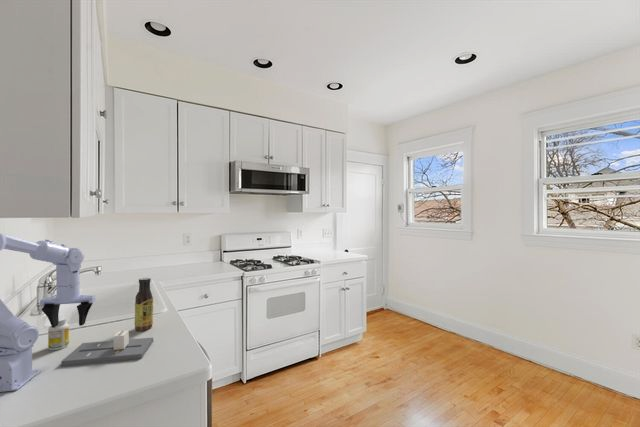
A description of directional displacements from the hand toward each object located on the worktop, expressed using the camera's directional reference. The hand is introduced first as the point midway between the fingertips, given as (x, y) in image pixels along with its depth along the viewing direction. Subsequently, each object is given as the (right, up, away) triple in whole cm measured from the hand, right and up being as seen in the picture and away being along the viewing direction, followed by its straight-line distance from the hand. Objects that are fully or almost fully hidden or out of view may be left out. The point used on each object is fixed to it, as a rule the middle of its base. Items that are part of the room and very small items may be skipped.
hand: (68, 325), depth 98 cm
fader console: (+13, -10, +1) cm, 16 cm away
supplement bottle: (-7, -9, +5) cm, 13 cm away
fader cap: (+16, -8, +2) cm, 18 cm away
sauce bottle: (+12, -9, +21) cm, 26 cm away
